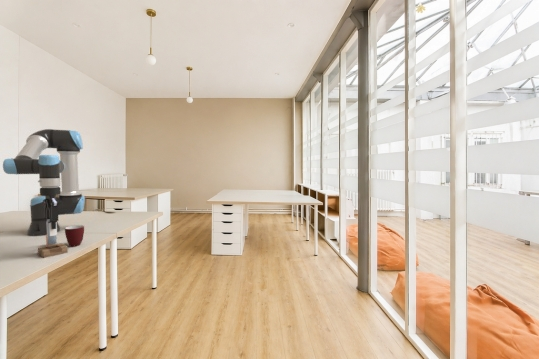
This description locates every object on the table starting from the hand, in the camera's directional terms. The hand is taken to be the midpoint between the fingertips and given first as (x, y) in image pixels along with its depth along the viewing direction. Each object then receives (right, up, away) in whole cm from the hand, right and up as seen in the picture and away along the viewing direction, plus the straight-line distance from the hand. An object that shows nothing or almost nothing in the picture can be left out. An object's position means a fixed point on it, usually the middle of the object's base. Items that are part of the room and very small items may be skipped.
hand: (52, 234), depth 122 cm
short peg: (-11, -8, +12) cm, 18 cm away
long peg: (0, -4, 0) cm, 4 cm away
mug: (+1, -9, +13) cm, 16 cm away
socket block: (0, -9, +1) cm, 9 cm away
